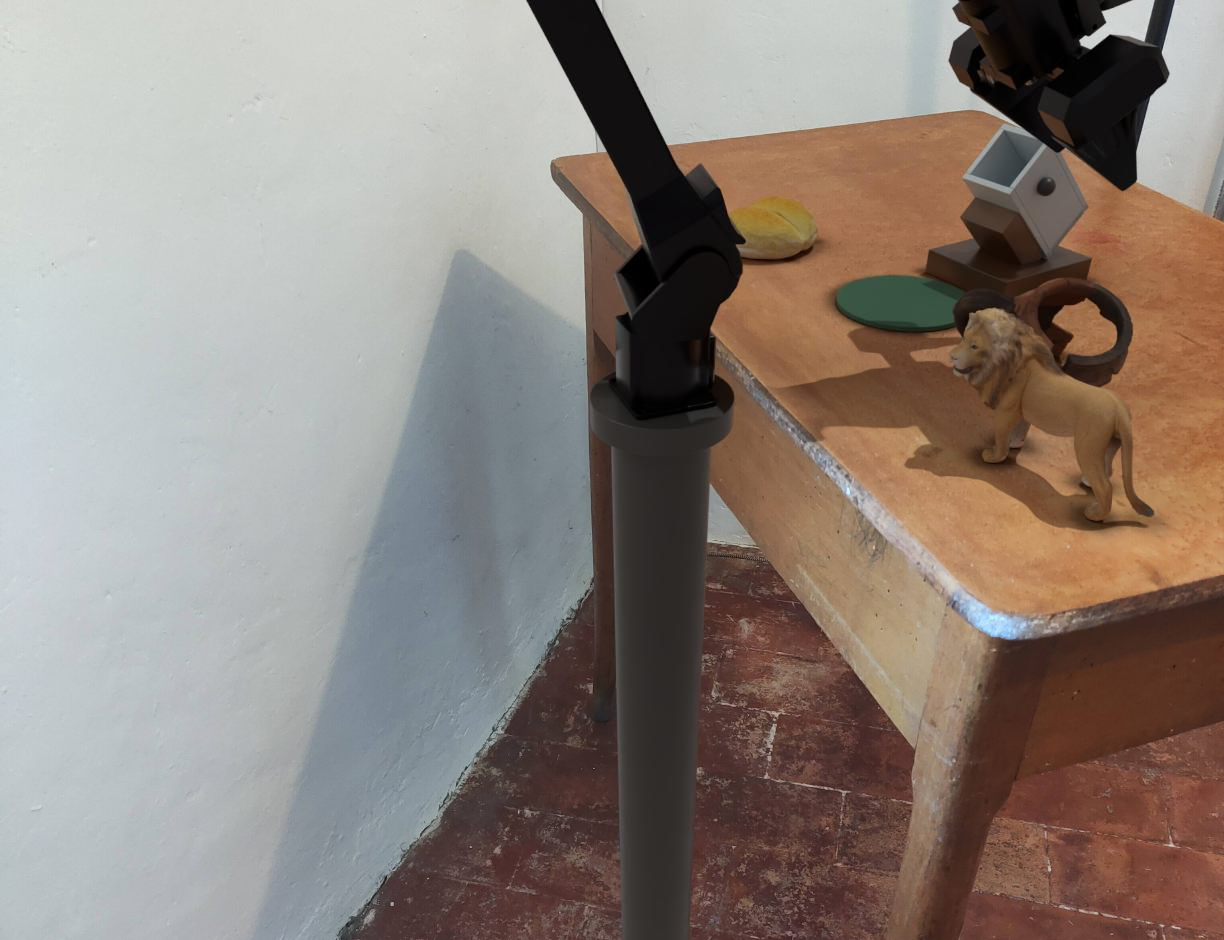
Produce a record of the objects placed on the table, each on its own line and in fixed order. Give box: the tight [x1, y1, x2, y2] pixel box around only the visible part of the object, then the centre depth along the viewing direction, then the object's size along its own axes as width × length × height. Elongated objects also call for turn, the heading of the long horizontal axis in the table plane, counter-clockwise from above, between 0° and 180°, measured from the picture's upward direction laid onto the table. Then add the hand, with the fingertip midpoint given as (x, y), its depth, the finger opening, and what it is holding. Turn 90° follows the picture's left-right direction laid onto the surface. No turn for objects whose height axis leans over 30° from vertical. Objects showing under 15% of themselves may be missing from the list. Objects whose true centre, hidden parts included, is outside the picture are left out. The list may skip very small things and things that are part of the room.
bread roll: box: [728, 195, 819, 260], centre depth 98 cm, size 8×9×4 cm
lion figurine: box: [948, 308, 1155, 522], centre depth 64 cm, size 15×5×9 cm, turn 39°
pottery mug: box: [952, 278, 1134, 388], centre depth 75 cm, size 12×9×8 cm
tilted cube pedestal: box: [924, 197, 1093, 298], centre depth 90 cm, size 10×9×7 cm
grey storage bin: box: [961, 123, 1090, 258], centre depth 88 cm, size 10×7×10 cm
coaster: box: [835, 274, 966, 333], centre depth 88 cm, size 11×11×1 cm
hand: (1094, 166), depth 74 cm, fingers open, 9 cm apart
